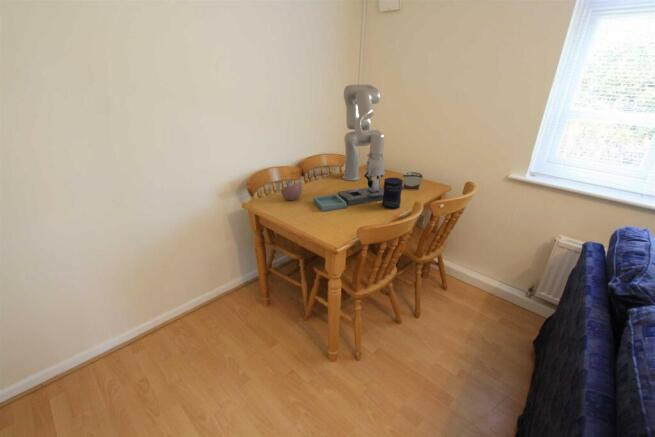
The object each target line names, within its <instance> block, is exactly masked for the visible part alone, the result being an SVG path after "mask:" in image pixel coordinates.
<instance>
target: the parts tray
mask: <svg viewBox="0 0 655 437" xmlns="http://www.w3.org/2000/svg"><path fill="white" fill-rule="evenodd" d="M313 204H315V205H316V206H317V207H318V209H320V211H321V212H323V213H325V212H331V211H336V210H341V209H347V208H348V207H347V206H348V205H347V203H346V202H345V201H344V200H343V199H341V198H340V197H339V196H338V194H337V193H335V194H329V195H328V194H327V195H323V196H315V197H313Z"/></svg>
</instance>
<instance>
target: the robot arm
mask: <svg viewBox="0 0 655 437" xmlns="http://www.w3.org/2000/svg"><path fill="white" fill-rule="evenodd" d="M380 93H381V92H380V91H379V89H378V88H377V87H375V86H373V85H371V84H349V85H346V86H345V87H344V89H343V101H344V103H345V108H346V111H345V114H346V128H347V129H348V130H353V131H349V132H346V133H345V135H344V146H345V149H344V150H345V159H344V171H343V172H344V174H343V175H342V179H343V180H345V181H348V182H354V181H357V182H358V181H359V180H361V175H359V172H360V151H359V149H358V147H367V146H369V151H368V154H367V157H368V158H367V160H366V166H365V172H364V173H363V177H364V178H365V179H367V187H368V186H369V187H370V188H371V187H372V181H371V179H372V178H373V177H376V178H378V179H379V185H381V184H380V182H381V180H382V178H383V177H384V176H385V175H386V171H385V158H384V156H383V155H384V146H385V145H384V144H385V133H383V132H381V131H380V130H378V129H372V119H371V118H372V117H373V116H374V114H375V111H374V106H373V105H375V104H379V103H380V100H381V94H380Z"/></svg>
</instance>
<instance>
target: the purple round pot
mask: <svg viewBox="0 0 655 437" xmlns="http://www.w3.org/2000/svg"><path fill="white" fill-rule="evenodd" d="M290 182H291V180H290V179H288V181H286V183H285V185H286V187H282V188H281V189H280V193H281V195H282V197H283V198H284V199H286V200H288V201H294V200H297V199H299V198H300V197H301V195H302V192H303V187H302V185H301V183H300V182H298V183H294V184H291V185H290Z"/></svg>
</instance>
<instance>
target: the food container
mask: <svg viewBox="0 0 655 437" xmlns="http://www.w3.org/2000/svg"><path fill="white" fill-rule="evenodd" d="M402 177H403V184H402V190H404V189H408V191H419V190H420V187H421V186H420V185H421V182H422V179H423V178H424V176H423V174H422V173H420V172H417V171H406V172H404V173H403V174H402Z"/></svg>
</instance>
